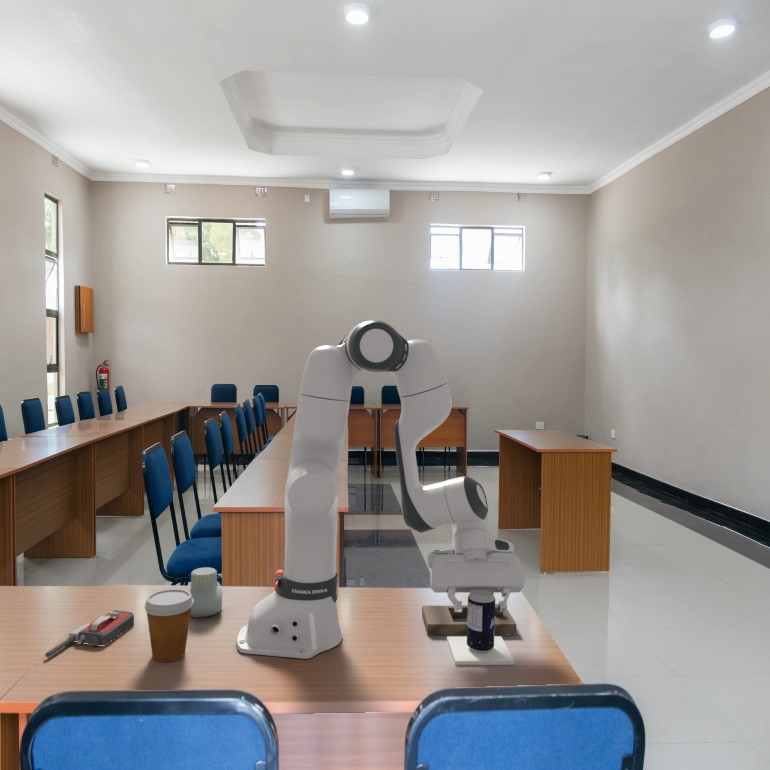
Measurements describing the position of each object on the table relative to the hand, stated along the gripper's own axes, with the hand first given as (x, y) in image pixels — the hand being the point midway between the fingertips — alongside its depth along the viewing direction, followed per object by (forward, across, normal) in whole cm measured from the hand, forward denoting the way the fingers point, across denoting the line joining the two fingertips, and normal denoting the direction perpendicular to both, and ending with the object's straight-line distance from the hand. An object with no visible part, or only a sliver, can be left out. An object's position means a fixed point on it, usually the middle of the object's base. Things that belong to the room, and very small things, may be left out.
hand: (481, 611), depth 128 cm
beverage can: (+6, 0, +6) cm, 8 cm away
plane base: (-3, 0, +16) cm, 16 cm away
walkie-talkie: (+2, -82, +12) cm, 83 cm away
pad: (+6, 0, +7) cm, 9 cm away
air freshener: (-8, -62, +22) cm, 66 cm away
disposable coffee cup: (+6, -64, +7) cm, 65 cm away
